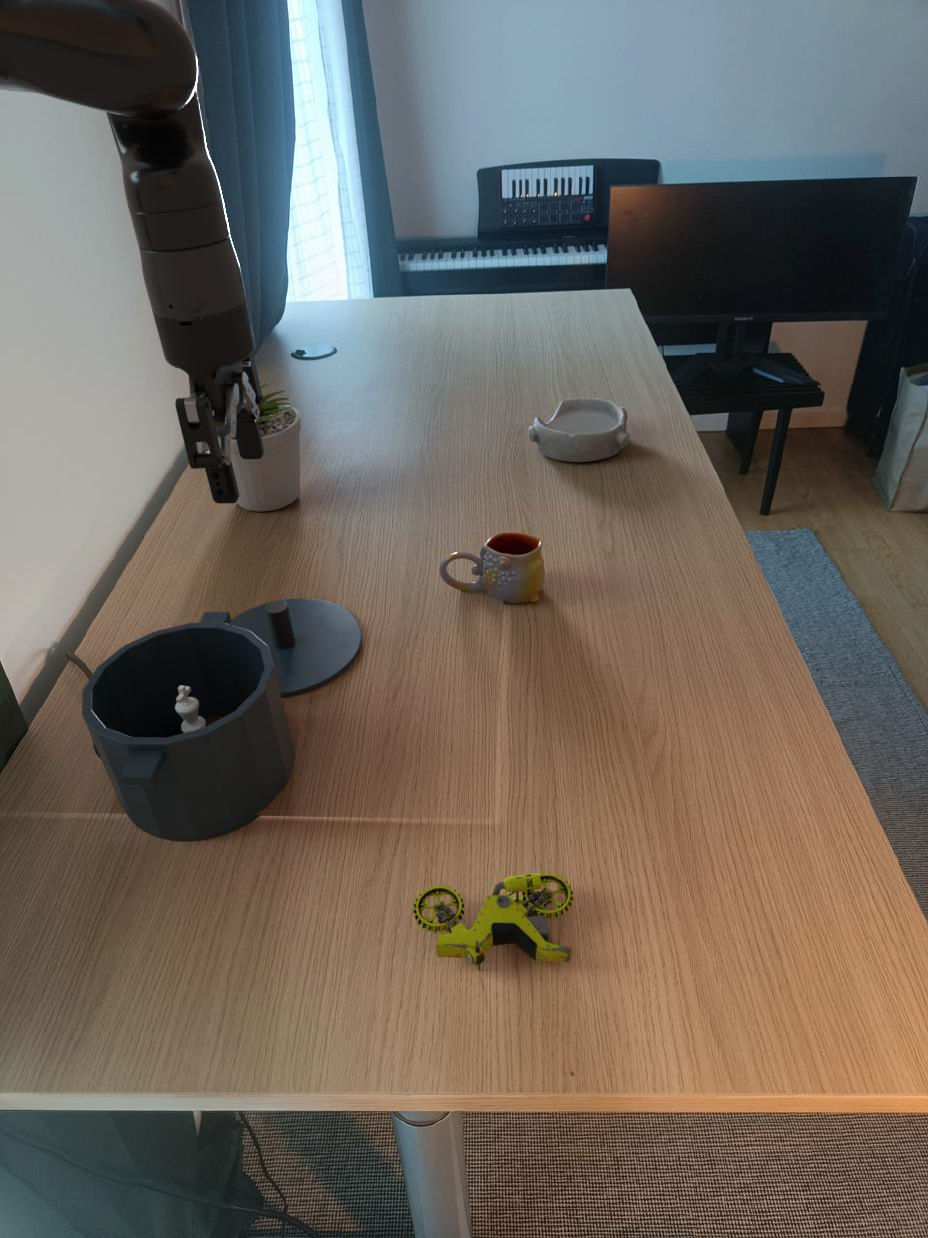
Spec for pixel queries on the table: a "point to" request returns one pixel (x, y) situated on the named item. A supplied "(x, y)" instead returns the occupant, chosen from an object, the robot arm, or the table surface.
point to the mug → (503, 568)
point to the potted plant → (270, 459)
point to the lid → (304, 640)
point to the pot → (198, 760)
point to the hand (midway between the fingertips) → (240, 478)
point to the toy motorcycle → (499, 919)
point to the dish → (582, 430)
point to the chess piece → (188, 710)
